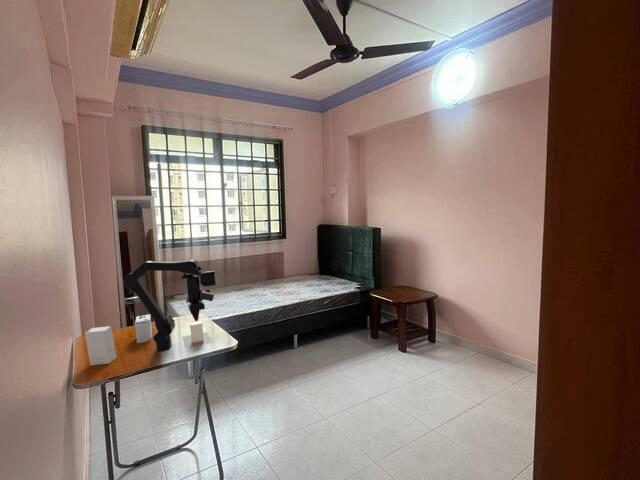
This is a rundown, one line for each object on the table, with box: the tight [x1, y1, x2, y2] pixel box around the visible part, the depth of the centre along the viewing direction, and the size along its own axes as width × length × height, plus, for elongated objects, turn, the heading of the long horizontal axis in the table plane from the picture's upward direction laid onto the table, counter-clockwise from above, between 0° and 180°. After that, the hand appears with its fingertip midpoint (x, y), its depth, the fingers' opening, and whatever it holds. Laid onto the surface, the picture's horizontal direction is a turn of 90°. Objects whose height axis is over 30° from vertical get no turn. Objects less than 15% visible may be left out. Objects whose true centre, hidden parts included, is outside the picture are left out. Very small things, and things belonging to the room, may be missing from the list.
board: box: [180, 324, 213, 349], centre depth 168 cm, size 28×12×1 cm, turn 26°
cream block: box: [189, 320, 204, 344], centre depth 160 cm, size 4×5×9 cm
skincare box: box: [84, 325, 117, 366], centre depth 145 cm, size 8×6×15 cm
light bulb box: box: [134, 313, 153, 344], centre depth 171 cm, size 11×7×11 cm, turn 25°
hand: (196, 320), depth 155 cm, fingers closed
